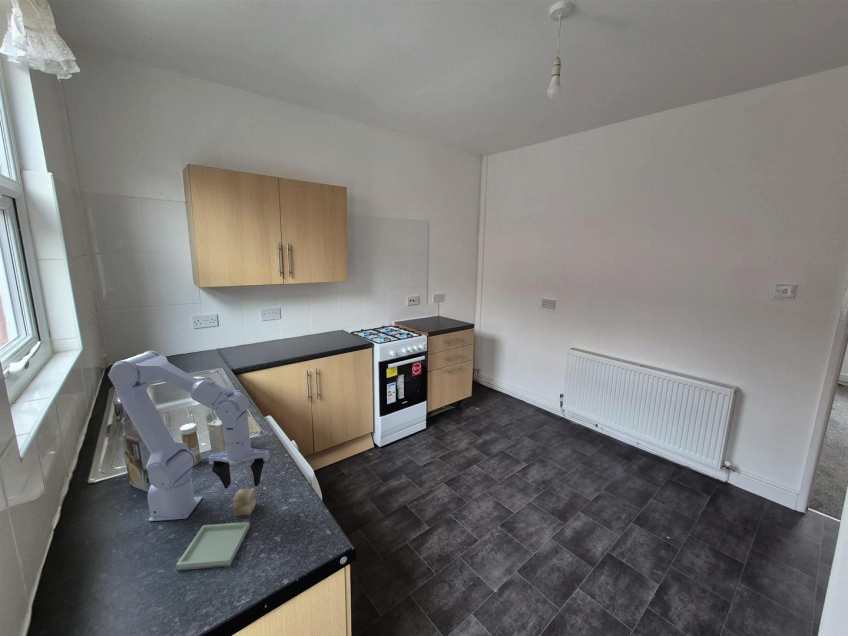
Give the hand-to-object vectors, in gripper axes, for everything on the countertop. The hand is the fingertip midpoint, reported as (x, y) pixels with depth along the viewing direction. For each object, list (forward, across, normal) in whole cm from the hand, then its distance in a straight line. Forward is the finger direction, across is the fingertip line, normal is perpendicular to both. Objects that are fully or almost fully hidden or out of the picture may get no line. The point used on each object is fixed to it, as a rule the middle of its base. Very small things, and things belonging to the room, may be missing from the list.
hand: (242, 484), depth 93 cm
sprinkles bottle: (+8, -26, +24) cm, 36 cm away
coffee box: (+8, -34, +15) cm, 38 cm away
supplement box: (+8, -18, +29) cm, 35 cm away
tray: (+8, -2, -12) cm, 14 cm away
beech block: (+8, 0, 0) cm, 8 cm away
